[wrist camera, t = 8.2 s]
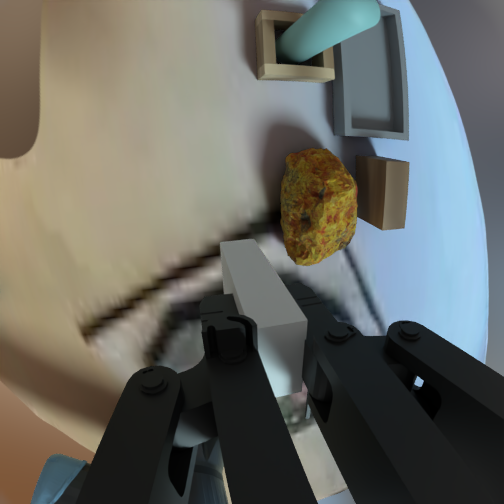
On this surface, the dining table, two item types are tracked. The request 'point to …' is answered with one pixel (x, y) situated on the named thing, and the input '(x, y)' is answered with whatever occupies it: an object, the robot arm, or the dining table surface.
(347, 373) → the robot arm
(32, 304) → the dining table surface
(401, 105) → the tray
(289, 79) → the socket block
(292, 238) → the rock
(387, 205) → the block
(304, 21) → the dowel
